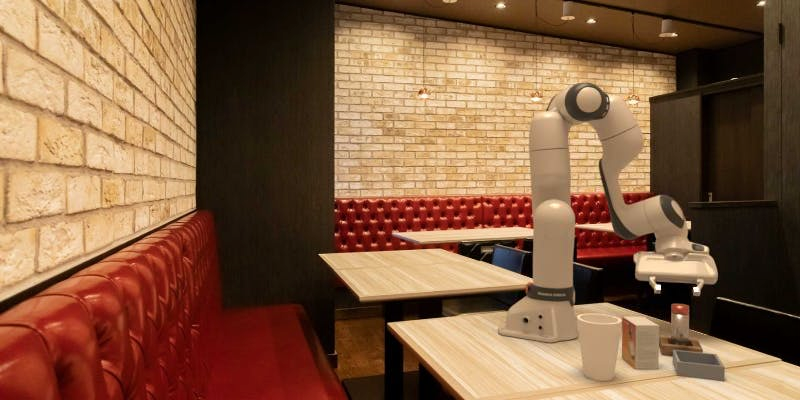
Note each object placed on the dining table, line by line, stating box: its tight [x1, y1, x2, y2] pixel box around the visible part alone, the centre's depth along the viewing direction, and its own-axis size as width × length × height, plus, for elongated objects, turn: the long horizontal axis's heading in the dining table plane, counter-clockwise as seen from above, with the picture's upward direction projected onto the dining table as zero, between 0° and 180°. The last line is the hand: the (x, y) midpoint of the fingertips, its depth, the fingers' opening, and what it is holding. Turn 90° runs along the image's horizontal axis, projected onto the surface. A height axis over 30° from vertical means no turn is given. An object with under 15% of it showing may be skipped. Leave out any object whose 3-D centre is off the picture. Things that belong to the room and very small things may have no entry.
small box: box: [621, 316, 660, 370], centre depth 125 cm, size 8×6×10 cm
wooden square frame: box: [659, 335, 704, 357], centre depth 133 cm, size 9×9×2 cm
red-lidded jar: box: [670, 303, 690, 346], centre depth 133 cm, size 4×4×12 cm
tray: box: [671, 350, 726, 382], centre depth 120 cm, size 9×9×3 cm
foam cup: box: [576, 313, 622, 382], centre depth 117 cm, size 10×9×13 cm
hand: (677, 293), depth 140 cm, fingers open, 8 cm apart
